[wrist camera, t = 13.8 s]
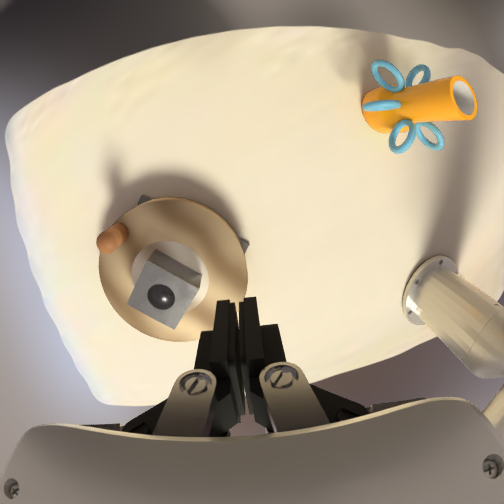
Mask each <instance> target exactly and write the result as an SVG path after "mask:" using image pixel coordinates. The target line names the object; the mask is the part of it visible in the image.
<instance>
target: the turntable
mask: <svg viewBox="0 0 504 504" xmlns="http://www.w3.org/2000/svg"><path fill="white" fill-rule="evenodd" d="M97 247H98V249H99V250H100V256H99V273H100V279H101V283H102V287H103V289H104V292H105V294H106V296H107V298H108V300H109V302H110V304H111V305H112V307H113V308H114V309H115V311H116V312H117V313H118V314H119V315H120V316H121V317H122V318H123V319H124V320H125V321H126V322H127V323H128V324H130V325H131V326H132V327H134V328H135V329H137V330H139V331H140V332H142V333H144V334H146V335H149V336H151V337H154V338H157V339H161V340H166V341H173V342H186V341H194V340H198V339H200V334H201V331H210V330H213V326H214V319H215V311H216V303H217V301H218V300H228V299H230V303H232V302H235V305H236V312H238V311H239V302H241V301H244V300H243V298H245V294H246V291H247V283H248V273H247V266H246V260H245V255H244V251H243V248H242V245H241V243H240V241H239V239H238V237H237V235H236V234H235V232H234V230H233V229H232V228H231V226H230V225H229V224H228V223H227V222H226V221H225V220H224V219H223V218H222V217H221V216H220V215H219V214H217V213H216V212H214V211H213V210H212V209H210V208H208V207H206V206H204V205H202V204H201V203H198V202H195V201H192V200H188V199H184V198H175V197H166V198H158V199H153V200H150V201H147V202H144V203H142V204H140V205H138V206H136V207H134V208H133V209H131V210H129V211H128V212H126V213H125V214H124V215H122V216H121V217H120V218H119V219H118V220H117V221H116V222H115V223H114V224H113V225H112V226H111V227H110V228H108V229H107V230H105V231H104V232H102V233H101V234H100V235H99V236H98V237H97ZM155 249H157V250H159V251H161V252H162V253H164V254H166V255H168V256H169V257H171V258H173V259H175V260H176V261H178V262H180V263H182V264H183V265H185V266H187V267H189V268H191V269H192V270H194V271H196V272H198V273H200V274H202V278H201V284H200V289H199V291H198V292H197V294H196V296H195V297H194V299H193V300H192V302H191V304H190V305H189V307H188V309H187V310H186V312H185V314H184V315H183V317H182V318H181V320H180V322H179V323H178V325H177V327H176V328H175V330H174V329H172V328H170V327H168V326H166V325H164V324H162V323H160V322H158V321H156V320H154V319H153V318H151V317H149V316H147V315H145V314H143V313H141V312H140V311H138V310H136V309H134V308H132V307H131V306H129V305H127V302H128V300H129V298H130V295H131V293H132V291H133V289H134V287H135V284H136V282H137V280H138V278H139V276H140V274H141V272H142V270H143V268H144V265H145V263H146V261H147V260H148V258H149V257H150V255H151V254H152V253H153V251H154V250H155Z"/></svg>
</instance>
